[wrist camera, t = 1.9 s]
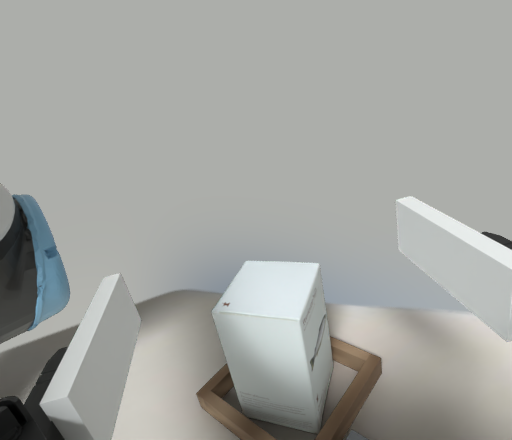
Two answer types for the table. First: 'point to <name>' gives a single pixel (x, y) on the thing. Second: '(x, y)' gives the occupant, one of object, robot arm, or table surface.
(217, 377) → the walnut holder
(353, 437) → the slate trivet
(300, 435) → the table surface
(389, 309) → the table surface
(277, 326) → the supplement box
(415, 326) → the table surface
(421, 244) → the robot arm
